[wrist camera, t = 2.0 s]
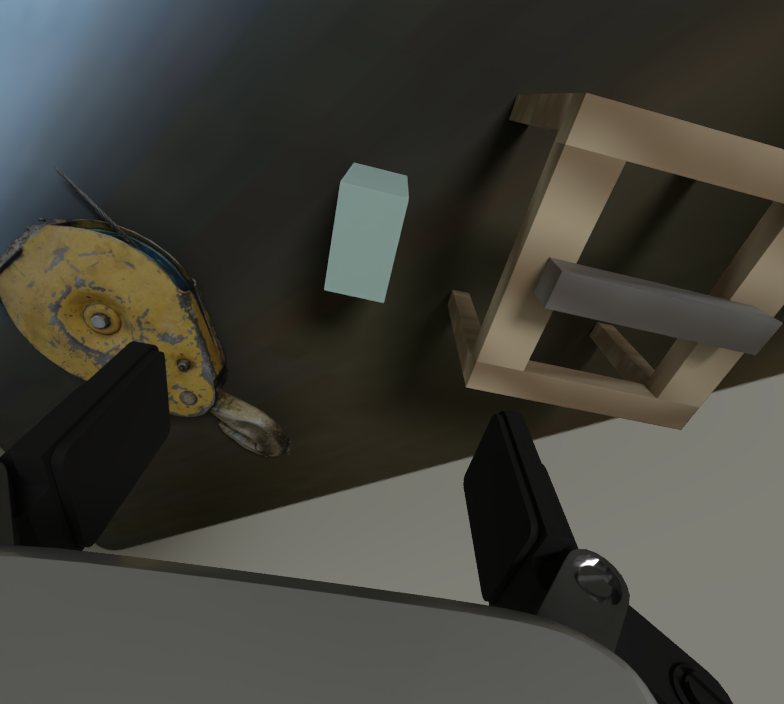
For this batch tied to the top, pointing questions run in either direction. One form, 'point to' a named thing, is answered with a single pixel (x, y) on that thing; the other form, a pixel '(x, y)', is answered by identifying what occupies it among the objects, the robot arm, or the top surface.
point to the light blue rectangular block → (366, 232)
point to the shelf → (568, 234)
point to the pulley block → (124, 316)
